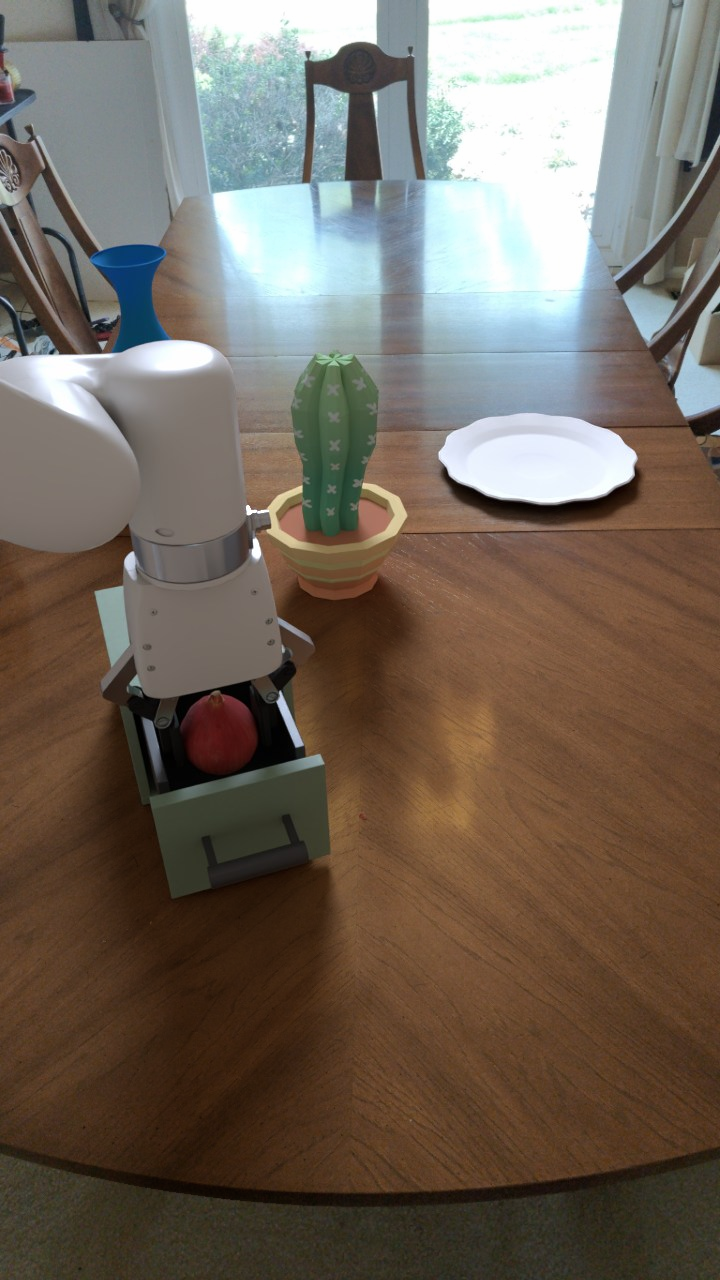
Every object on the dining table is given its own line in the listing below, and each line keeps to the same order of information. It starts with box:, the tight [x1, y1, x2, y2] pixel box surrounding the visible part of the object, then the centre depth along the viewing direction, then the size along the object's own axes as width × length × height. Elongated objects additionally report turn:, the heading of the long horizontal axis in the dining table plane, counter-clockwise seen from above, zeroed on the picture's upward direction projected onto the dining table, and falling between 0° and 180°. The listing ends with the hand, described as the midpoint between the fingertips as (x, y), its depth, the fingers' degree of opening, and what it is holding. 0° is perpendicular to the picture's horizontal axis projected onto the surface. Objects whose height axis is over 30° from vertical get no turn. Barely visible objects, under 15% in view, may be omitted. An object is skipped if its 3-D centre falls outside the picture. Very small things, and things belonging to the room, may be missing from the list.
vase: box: [89, 243, 172, 353], centre depth 120 cm, size 12×13×28 cm
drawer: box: [140, 680, 332, 900], centre depth 76 cm, size 19×12×10 cm, turn 19°
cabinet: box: [94, 585, 297, 806], centre depth 86 cm, size 16×14×12 cm
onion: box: [180, 691, 258, 775], centre depth 73 cm, size 6×6×8 cm
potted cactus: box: [266, 349, 409, 601], centre depth 101 cm, size 15×16×25 cm
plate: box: [438, 412, 639, 507], centre depth 127 cm, size 25×25×2 cm
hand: (220, 742), depth 74 cm, fingers closed on onion, 5 cm apart
